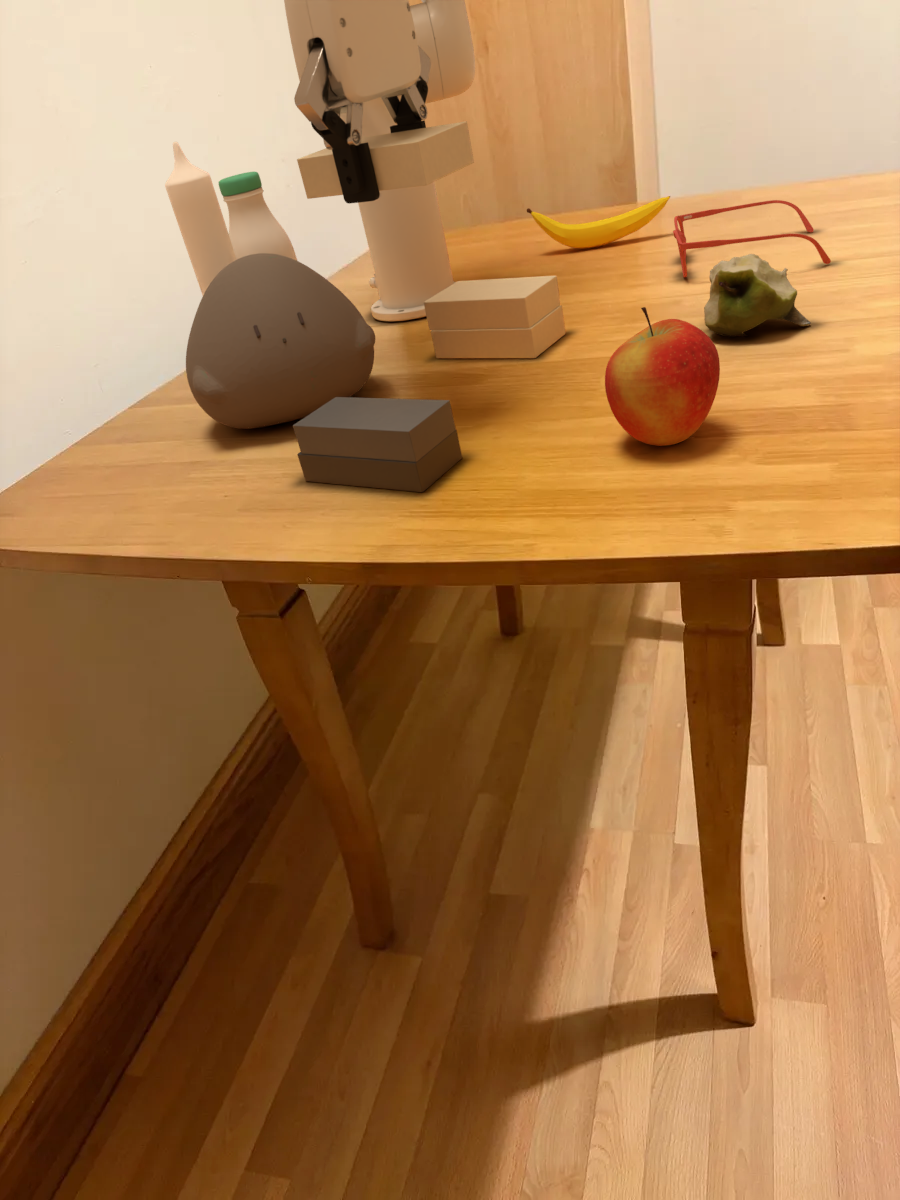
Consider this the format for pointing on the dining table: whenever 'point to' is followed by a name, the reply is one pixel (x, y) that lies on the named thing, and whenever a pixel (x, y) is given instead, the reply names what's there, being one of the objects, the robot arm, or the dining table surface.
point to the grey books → (378, 442)
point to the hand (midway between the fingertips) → (390, 186)
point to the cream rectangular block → (396, 159)
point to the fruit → (749, 296)
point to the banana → (599, 226)
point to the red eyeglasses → (703, 244)
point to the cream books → (496, 318)
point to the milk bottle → (252, 218)
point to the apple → (663, 381)
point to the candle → (199, 219)
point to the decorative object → (274, 343)
